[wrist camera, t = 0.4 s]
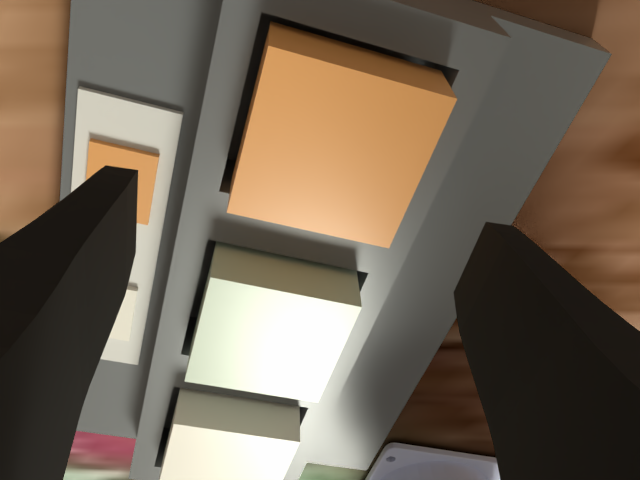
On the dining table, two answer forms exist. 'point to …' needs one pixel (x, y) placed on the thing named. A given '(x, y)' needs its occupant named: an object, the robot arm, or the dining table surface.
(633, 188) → the dining table surface
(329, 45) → the orange key
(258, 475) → the cream key
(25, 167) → the dining table surface
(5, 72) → the dining table surface
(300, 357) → the sage key
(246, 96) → the keypad
